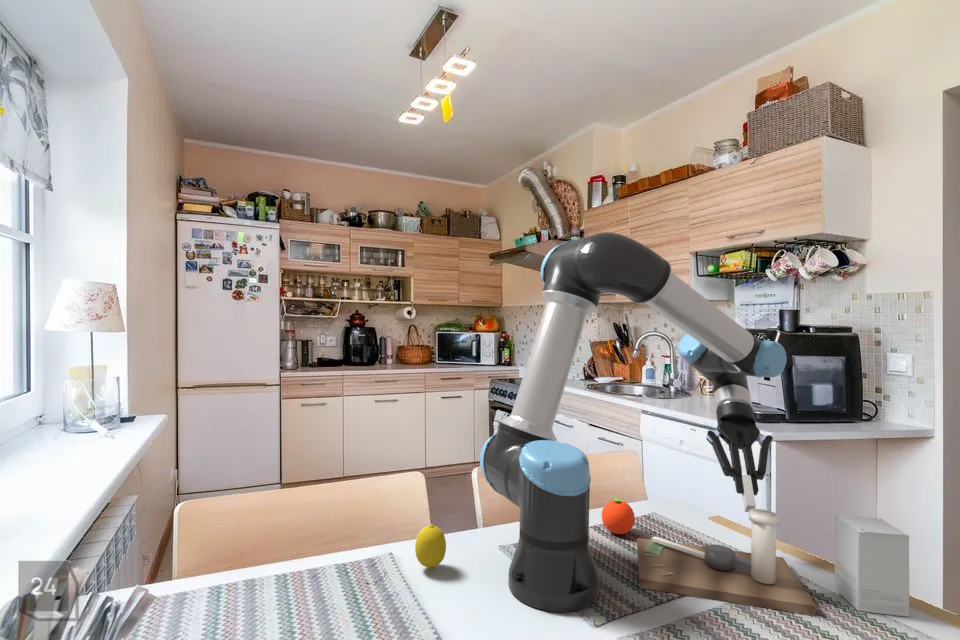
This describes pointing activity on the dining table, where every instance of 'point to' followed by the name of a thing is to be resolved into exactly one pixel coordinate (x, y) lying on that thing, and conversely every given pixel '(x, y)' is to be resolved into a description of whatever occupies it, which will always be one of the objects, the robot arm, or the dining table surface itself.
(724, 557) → the knobbed stick and post
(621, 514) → the clementine
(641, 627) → the dining table surface
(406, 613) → the dining table surface
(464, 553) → the dining table surface
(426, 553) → the lemon
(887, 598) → the supplement box
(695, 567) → the brown wooden board
